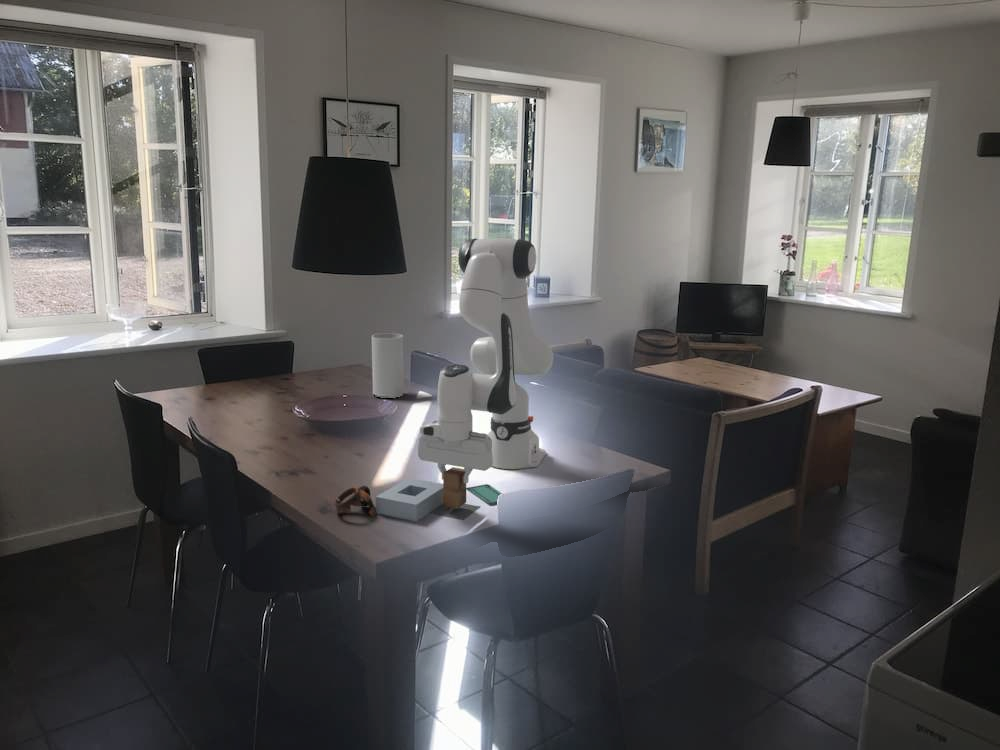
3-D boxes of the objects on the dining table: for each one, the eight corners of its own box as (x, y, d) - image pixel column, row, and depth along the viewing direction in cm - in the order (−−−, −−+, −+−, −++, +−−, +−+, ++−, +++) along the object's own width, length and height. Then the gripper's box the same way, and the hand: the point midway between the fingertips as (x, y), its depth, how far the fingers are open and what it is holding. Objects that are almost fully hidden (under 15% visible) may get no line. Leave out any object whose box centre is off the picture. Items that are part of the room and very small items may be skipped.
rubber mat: (447, 502, 213) (447, 500, 213) (480, 508, 209) (480, 506, 209) (428, 515, 204) (428, 513, 204) (463, 522, 200) (463, 520, 200)
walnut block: (452, 499, 209) (452, 467, 207) (466, 502, 208) (466, 469, 206) (443, 506, 205) (443, 472, 203) (457, 508, 203) (457, 475, 201)
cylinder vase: (370, 399, 322) (368, 338, 317) (376, 391, 334) (374, 333, 329) (401, 399, 322) (400, 338, 317) (405, 392, 334) (404, 333, 329)
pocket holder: (409, 495, 218) (408, 477, 217) (447, 502, 213) (447, 484, 212) (376, 515, 204) (375, 496, 203) (416, 523, 199) (416, 504, 198)
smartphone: (490, 505, 209) (465, 487, 222) (490, 510, 210) (465, 491, 222) (514, 500, 213) (488, 483, 226) (514, 505, 213) (488, 487, 226)
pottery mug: (373, 525, 199) (355, 500, 196) (343, 536, 202) (325, 511, 200) (386, 496, 210) (369, 472, 207) (357, 508, 213) (340, 484, 210)
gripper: (497, 431, 200) (496, 483, 203) (426, 421, 209) (427, 471, 212) (486, 438, 195) (485, 491, 198) (414, 427, 203) (415, 478, 206)
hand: (455, 481), depth 205 cm, fingers closed on walnut block, 4 cm apart
